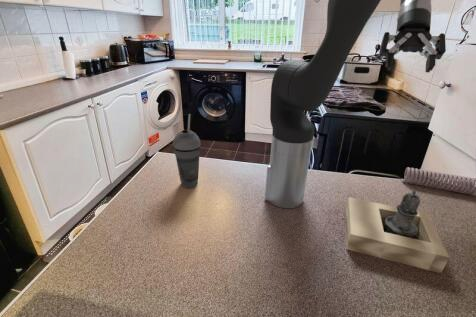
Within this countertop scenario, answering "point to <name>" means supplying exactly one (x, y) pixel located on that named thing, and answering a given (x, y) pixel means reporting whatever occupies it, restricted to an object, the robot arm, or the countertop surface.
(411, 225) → the grey tall knobbed piece
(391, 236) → the jig
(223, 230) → the countertop surface
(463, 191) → the coil
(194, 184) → the beverage cup
